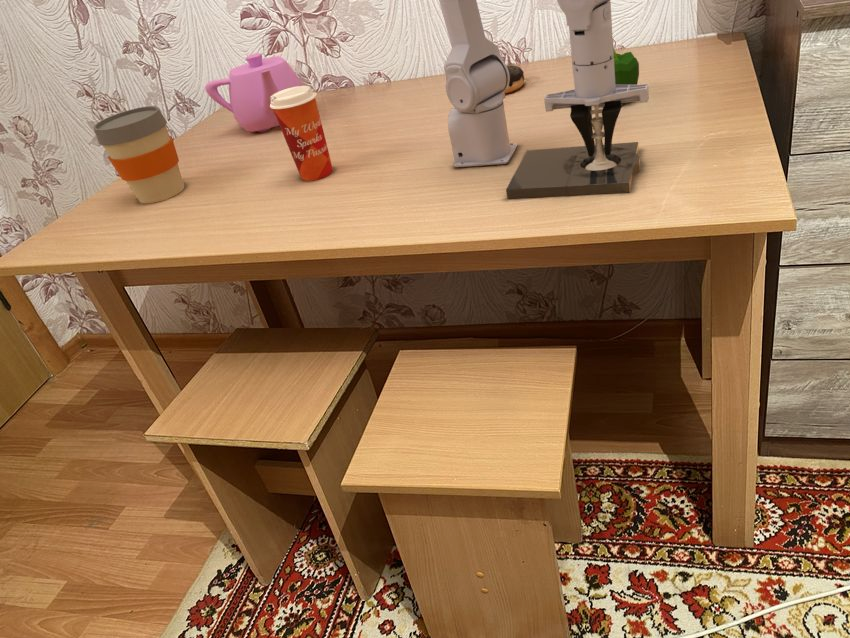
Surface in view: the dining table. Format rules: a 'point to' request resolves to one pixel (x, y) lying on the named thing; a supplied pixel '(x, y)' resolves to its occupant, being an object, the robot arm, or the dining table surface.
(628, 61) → the bell pepper
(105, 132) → the reusable coffee cup
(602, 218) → the dining table surface
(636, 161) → the dark grey flat block
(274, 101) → the coffee cup
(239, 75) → the teapot
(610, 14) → the robot arm
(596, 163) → the chess piece
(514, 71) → the donut
